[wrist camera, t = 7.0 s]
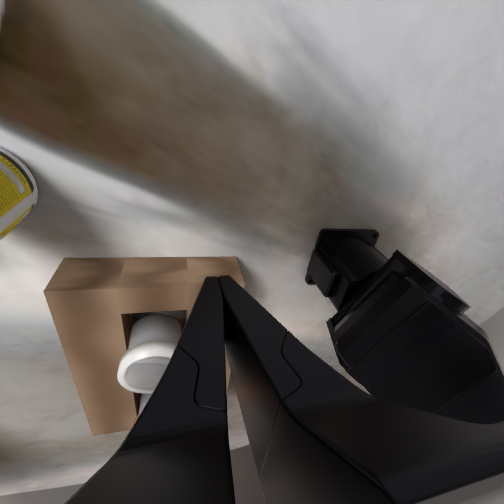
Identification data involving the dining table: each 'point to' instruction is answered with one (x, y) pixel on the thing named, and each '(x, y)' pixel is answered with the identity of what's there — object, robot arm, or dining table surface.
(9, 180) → the supplement bottle
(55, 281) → the wooden socket block
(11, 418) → the dining table surface
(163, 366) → the plug
